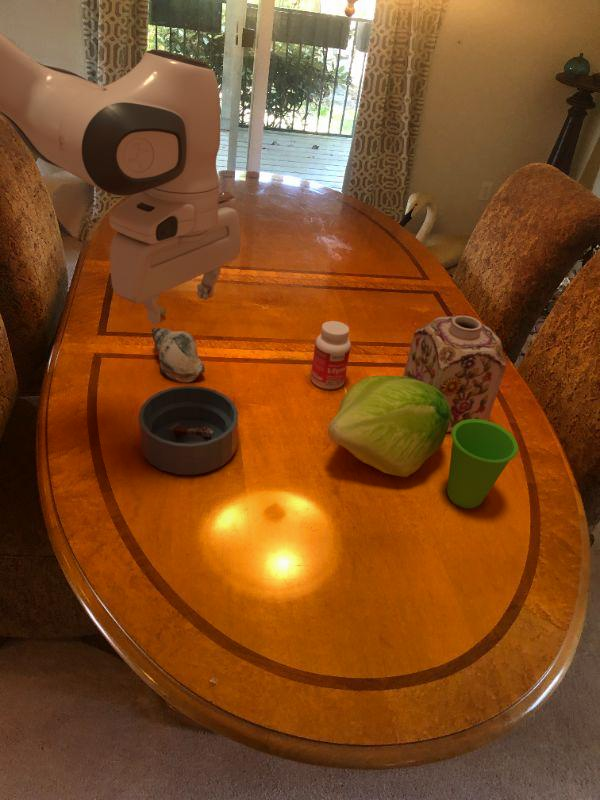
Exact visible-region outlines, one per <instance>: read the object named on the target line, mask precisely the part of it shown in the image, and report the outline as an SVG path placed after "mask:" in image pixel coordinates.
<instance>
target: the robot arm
mask: <svg viewBox="0 0 600 800" xmlns="http://www.w3.org/2000/svg"><path fill="white" fill-rule="evenodd" d="M0 114H2V115H3V116H4V117H5V118H6V119H7V121H8V122H9V123H10V124H11V126H12V127H13V128H14V130H15V131H16V133H17V134H18V136H19V137H20V139H21V140H22V141H23V143H24V144H25V145H26V147H27V148H28V149H29V150H30V151H31V152H32V153H33V154H34V155H35V156H36V157H38V158H39V159H40V160H41V161H44V162H45V163H47V164H49V165H52V166H55V167H57V168H60V169H62V170H64V171H66V172H67V173H69V174H71V175H73V176H75V177H77V178H78V179H80V180H82V181H84V182H85V183H87V184H89V185H91V186H93V187H95V188H96V189H99V190H100V191H102V192H104V193H108V194H111V195H114V196H121V197H123V196H124V197H125V196H130V197H129V198H128V199H126V200H124V202H122V203H121V204H119V205H118V206H117V207H115V208H114V209H112V211H111V212H110V213H109V217H108V221H109V227H110V228H111V229H112V230H114V231H116V233H115V234H114V236H113V237H112V240H111V242H110V247H109V248H110V249H109V266H110V269H109V270H110V281H111V287H112V290H113V291H114V293H115V294H116V295H117V296H118V297H120V298H121V299H124V300H126V301H127V302H130V303H133V304H136V305H137V304H143V306H144V307H145V309H146V313H147V320H148V322H150V323H151V324H153V325H158V324H161V323H162V322H164V321H166V319H167V317H166V314H167V313H166V308H164V307H161V306H160V305H159V304H158V303H157V302H159V301H160V295H161V294H163V293H165V292H167V291H170V290H172V289H175V288H176V287H178V286H180V285H183V284H186V283H187V282H189V281H192V280H194V279H197V278H198V277H201V276H202V279H201V283H199V284H197V285H196V286H197V287H196V288H197V289H196V290H197V297H198V298H200V299H203V300H205V301H207V300H209V299H211V298H213V297H214V296H215V286H216V284H217V281H218V279H219V277H220V274H221V272H222V269H221V268H222V266H223V267H224V266H225V265H227V264H229V263H232V262H233V261H236V260H237V259H238V257H239V255H240V253H241V246H242V245H241V244H242V243H241V223H240V217H239V213H238V211H237V204H238V202H237V199H236V198H235V196H234V194H232V193H230V191H226V190H225V191H221V192H220V179H219V173H218V169H217V158H218V154H219V151H220V147H221V100H220V89H219V84H218V80H217V76H216V74H215V71H214V70H213V69H212V67H210V64H207V63H206V62H204V61H202V60H199V59H197V58H193V57H190V56H186V55H182V54H180V53H175V52H172V51H168V50H163V49H150V50H146V51H145V52H144V53H143V54H142V57H141V59H140V61H139V62H138V63H137V64H136V65H135V66H134V67H133V68H132V69H131V70H130V71H129V72H128V73H126V74H125V75H123V76H121V77H120V78H119V79H117V80H115V81H113V82H111V83H108V84H105V85H100V84H98V83H95V82H92V81H91V80H88V79H87V78H85V77H83V76H81V75H79V74H77V73H75V72H73V71H70V70H67V69H64V68H59V67H55V66H52V65H51V66H50V65H45V64H42V63H41V62H38V61H36V60H35V59H33V58H32V57H31V56H29V54H27V53H26V52H24V51H23V50H22V49H21V48H19V47H18V45H16V44H15V43H14V42H12V41H11V40H9V39H8V38H7V37H6V36H4V34H2V33H1V32H0Z"/></svg>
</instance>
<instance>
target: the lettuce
mask: <svg viewBox="0 0 600 800" xmlns="http://www.w3.org/2000/svg"><path fill="white" fill-rule="evenodd" d="M450 419H451V412H450V406H449V404H448V403H447V401H446V399H445V397H444V396H443V394H442V392H440V391H439V390H438V389H436V388H435V387H434V386H432V385H429V384H427V383H424V382H422V381H419V380H417V379H414V378H412V377H403V376H400V375H371V376H367V377H364V378H362V379H360V380H359V381H357V382H356V383H355V384H353V385H352V386H351V387H350V388H349V389H348V390H347V392H346V393H345V394H344V395H343V397H342V399H341V401H340V405H339V408H338V412H337V414H336V415H335V416H334V417H333V418H332V419H331V421H330V423H329V424H328V427H327V433H328V436H329V438H330V440H331V441H332V443H334V445H335V444H336V445H339V446H341V447H342V448H344V449H346V450H347V451H348V452H349V453H350V454H351V455H353V456H354V458H356V459H357V460H358V461H360V462H362V463H363V464H366V465H369V466H371V467H373V468H375V469H376V470H378V471H380V472H382V473H384V474H387V475H391V476H395V477H402V478H403V477H404V478H408V477H409V476H410V475H412V474H414V473H415V472H417V471H418V470H419V469H420V468H421V466H423V464H424V463H425V462H426V460H428V459H429V458H430V457H432V456H433V455H434V454H435V453H436V452H437V451H438V450H439V449H440V448H441V446H442V445H443V444H444V441H445V438H446V436H447V433H448V432H447V430H448V427H449V424H450Z"/></svg>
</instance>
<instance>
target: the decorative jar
mask: <svg viewBox="0 0 600 800" xmlns="http://www.w3.org/2000/svg"><path fill="white" fill-rule="evenodd" d="M506 369H507V362H506V356H505V352H504V350H503V345H502V340H501V339H500V337H498V335H497V334H496V333H495V332H494V331H493V330H492V329H491V327H489V326H487V325H485V324H482V323H481V321H480V320H478V319H477V318H475V317H474V316H469V315H456V316H439V317H436V318H434V319H433V320H430V321H428V322H427V323H425V324H423V325H421V326H420V327H419V328H417V329H416V330H414V332H413V335H412V340H411V343H410V347H409V352H408V354H407V359H406V363H405V367H404V371H403V374H402V375H403V376H402V377H412V378H414V379H417V380H419V381H422V382H424V383H427V384H429V385H432V386H434V387H435V388H436V389H438V390H439V391H440V392H442V394H443V396H444V397H445V399H446V401H447V403H448V404H449V406H450V412H451V419H450V424H449V427H448V430H447V433H451V432H452V429H453V427H454V426H455V425H456V424H457V423H459V422H460V421H463V420H467V419H481V420H486V421H489V418H490V416H491V413H492V410H493V407H494V405H495V401H496V398H497V396H498V393H499V390H500V387H501V384H502V381H503V378H504V374H505V372H506Z"/></svg>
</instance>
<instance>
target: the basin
mask: <svg viewBox="0 0 600 800" xmlns="http://www.w3.org/2000/svg"><path fill="white" fill-rule="evenodd" d="M177 423H178V424H179V425H180V427H183V428H187V429H190V428H199V429H202V428H203V427H207V428H211V430H212V431H213V432H214V433H213V435H211V438H212V439H211V440H209V441H205V440H204V439H203V438H202V436H197V437H195V436H194V437H193V436H188V435H182V436H178V437H177V438H176V439H173V437H172V434H171V432H170V428H171V427H173V426H174V425H176V424H177ZM238 424H239V411H238V409H237V406H236V404H235V403H234V401H233V400H231V399H230V397H228V396H227V395H225V394H223V393H221V392H220V391H218V390H216V389H213V388H209V387H206V386H205V387H204V386H197V385H196V386H195V385H181V386H174V387H172V386H171V387H170V388H167V389H163V390H161V391H158V392H156V393H155V394H153V395H151V396H150V397H148V398H147V399H146V401H144V402H143V404H142V405H141V406H140V409H139V413H138V430H139V444H140V448H141V449H140V450H141V452H142V455H143V457H144V458H145V459H146V460H147V461H148V462H149V464H150V465H152V466H153V467H156V468H157V469H159V470H160V471H164V472H168V473H170V474H174V475H183V476H184V475H185V476H186V475H189V476H192V475H193V476H194V475H200V474H205V473H209V472H212V471H214V470H217V469H218V468H221V467H223V466H224V465H225V464H226V463H227V462H228V461H230V460H231V459H232V458H233V456H234V454H235V452H236V450H237V445H238V444H237V443H238Z"/></svg>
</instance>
